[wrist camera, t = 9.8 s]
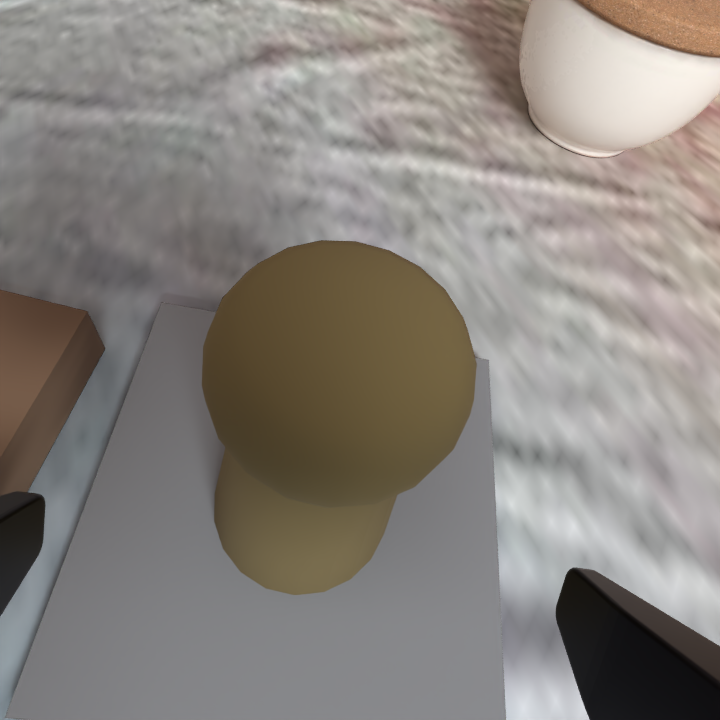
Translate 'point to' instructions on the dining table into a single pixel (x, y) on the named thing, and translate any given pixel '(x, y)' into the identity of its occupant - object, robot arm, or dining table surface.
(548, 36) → the lidded bowl
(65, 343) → the socket block
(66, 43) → the dining table surface
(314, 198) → the dining table surface
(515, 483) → the dining table surface
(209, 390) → the cork
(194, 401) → the grey mat
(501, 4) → the dining table surface
